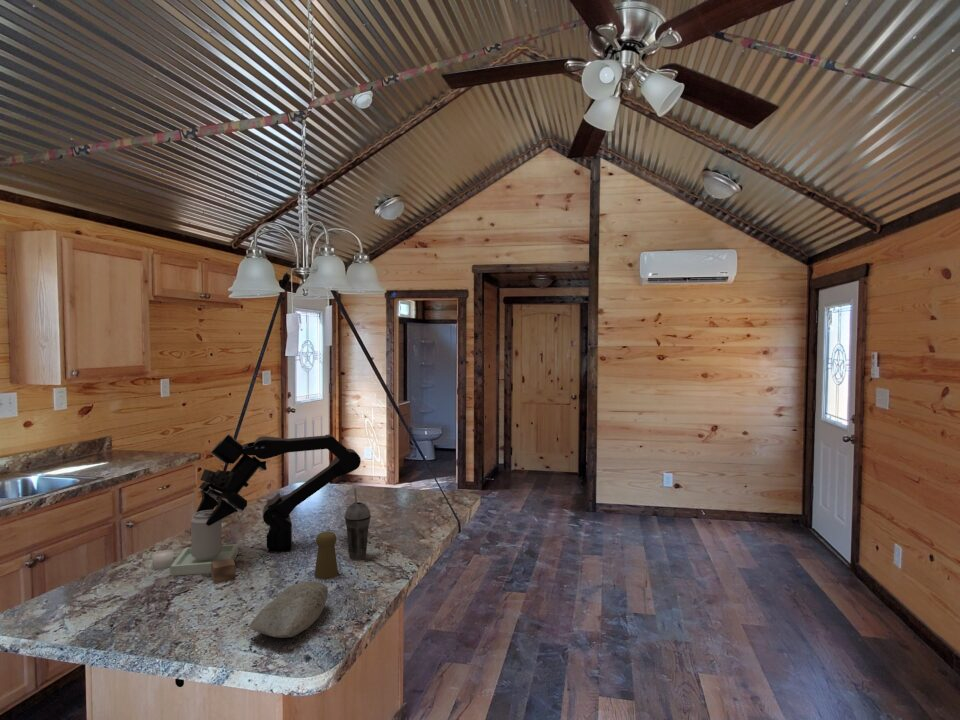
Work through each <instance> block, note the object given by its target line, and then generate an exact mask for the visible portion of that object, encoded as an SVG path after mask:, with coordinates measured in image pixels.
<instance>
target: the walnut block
mask: <svg viewBox="0 0 960 720" xmlns="http://www.w3.org/2000/svg"><path fill="white" fill-rule="evenodd" d="M210 577H211V580H212V582H213V584H217V583H224V582H227V581H234V580H236V563H235V560H234V561H233V559H232V558H230V559H224V560H218V561H213V562H211V573H210Z"/></svg>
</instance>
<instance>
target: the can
mask: <svg viewBox="0 0 960 720" xmlns="http://www.w3.org/2000/svg"><path fill="white" fill-rule="evenodd" d="M214 510H215V509H212V510H204V511H199V512H197V511H196V512H195V513H194V514H193V517H192V518H191V520H190V535H191V536H190V538H191V539H190V541H191V545H190V547H191V555H192V556H193V557H194V558H195V559H198V560H206V559H211V558H214V557H216V556H218V555H219V554H220V553H221V551H222V545H223V543H222V542H223V540H222V539H223V538H222V535H223V534H222V531H223V530H222V519H221V520H219V521H217V522H215V523H214V524H212V525H210V526H208V525H206V522H207V521H208V519H209V517H210V516H211V514H212V513H213V511H214Z"/></svg>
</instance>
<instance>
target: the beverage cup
mask: <svg viewBox="0 0 960 720" xmlns="http://www.w3.org/2000/svg"><path fill="white" fill-rule="evenodd" d="M353 489H354V491H353V492H354V502H353V503H351V504H350V505H349V506H348V507H347V508H346V510H345V514H344V522H345V525H346V535H347V537H346V538H347V547H348V549H347V550H348V555H349V557H348V558H349V559H350V560H352V561H360V560H364V559H365V558H366V556H367V549H368V539H369V538H368V537H369V536H368V535H369V525H370V521H371V517H372V516H371V512H370V509H369V507H368V506H367V505H366V503H363V502H361V501H359V502H358V497H357V495H358V494H357V487H354V488H353Z"/></svg>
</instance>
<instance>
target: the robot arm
mask: <svg viewBox="0 0 960 720" xmlns="http://www.w3.org/2000/svg"><path fill="white" fill-rule="evenodd" d="M318 450H328V451H329V452H330V453H331V454H333V456H335V457H334V459H332V460H331V462H330V464H328V466H327V467H325V468H324V469H322V470H321V471H319V472H318V473H317V474H315V475H314V476H312V477H311V478H310V479H307V480H306V481H305V482H304V483H302V484H300V485H299V486H298V487H297V488H295V489H293V490H292V491H290V492H289V493H287V494H285V495H282V496H281V494H280V493H279V492H278V493H277V494H276V495H275V496H274V497H272V498H271V499H268V500H266V501H267V502H266V504H265V505H264V506H263V508H262V519H263V520H262V521H263V522H264V523H265V524H266V525H267V526H269V528H268V531H267V533H266V549H267V553H278V552H291V551H292V549H293V546H294V542H293V524H292V520H291V519H292V518H291V515H290V514H291V513H292V512H293V511H294V509H295V508H296V507H297V506H299V505H300V504H301V503H303V502H305V500H307V499H308V498H310V497H311V496H313V495H314V494H315V493H317V492H318V491H320V490H321V489H323V488H324V487H325V486H327V485H328V484H330V483H331V482H332V481H335V480H336V479H337V478H339V477H342V476H346V475H348V474H350V473H352V472H354V471H356V470H357V469H359V467H360V466H361V461H362V460H361V456H360V455H359V453H357V451H355V450H354V449H352V448H347V447H346V446H344V445H343V444H342V443H341V442H340V441H338V439H336V438H335V436H333V435H332V434H329V433H328V434H325V435H317V436H315V435H313V436H303V437H293V438H292V437H291V438H282V437H276V436H266V435H265V436H260V437H258V438H257V439H256V440H255V441H252V442H251V441H250V442H248V443H247V442H246V443H243V444H242V443H240V442H239V441H238V440H236V439H235V438H234V437H233V436H232V435H230V434H226V436H224V438H223V439H222V440H221V441H219V442H218V443H217V444H216V445H215V446H214V447H213V449H212V450H211V452H210V454H212V455H213V456H214V457H216V458H217V459H218V460H220V461H221V462H222V463H224V464H225V465H229V464H230V465H234V466H233V467H232V468H231V469H230V470H225V471H224V470H221V469H217V470H216V471H214V470H209V469H207V468H204V469H203V473H202V475H201V477H200V479H199V480H200V481H202V483H201V484H200V485H199V486H198V489H200V493H201V501H200V504H199V505H198V508H197V510H196V512H199V511H204V510H214V511H213V513H212V514H211V516H210V517H209V519H208V521H207V522H206V525H208V526H210V525H212V524H214V523H215V522H217V521H219V520H221V521H222V520H223V519H224V518H226V517H228V516H230V515H232V514H234V513H238V512H239V511H240V512H244V510H245V509H246V508H247V506H248V500H247V499H245V497H243V496H242V495H240V494H239V493H240V492H241V490H242V489H243V488H247V487H248V486H249V483H248V482H249V480H250V479H251V478H252V477H253V476H254V474H255V473H256V472H257V471H258V470H260V471H267V470H268V468H267V459H272V458H275V457H278V456H281V455H284V454H288V453H296V452H298V453H299V452H307V451H318ZM240 457H241V458H240ZM237 460H238V461H237ZM262 460H263V461H262Z"/></svg>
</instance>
